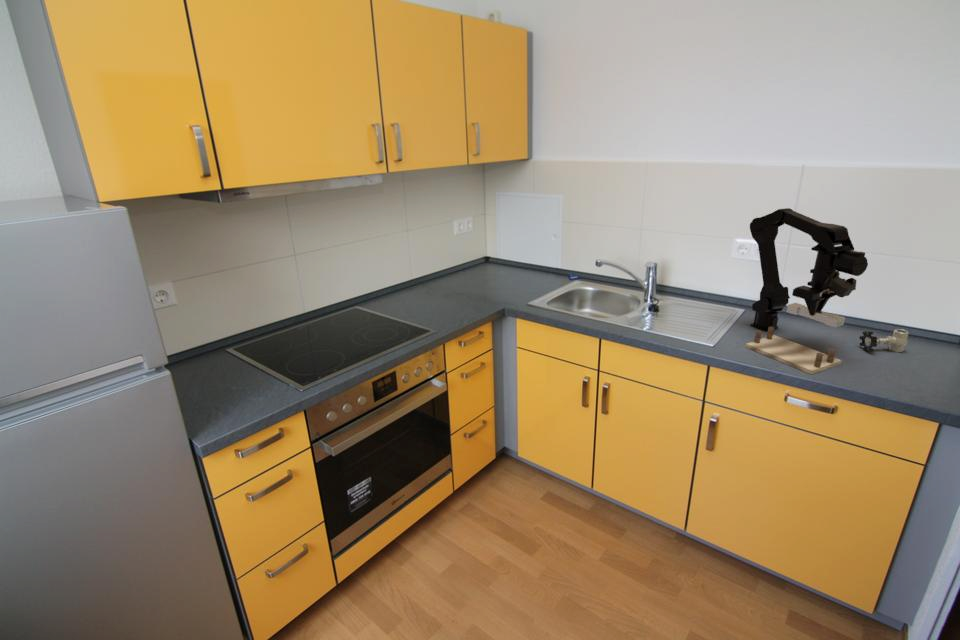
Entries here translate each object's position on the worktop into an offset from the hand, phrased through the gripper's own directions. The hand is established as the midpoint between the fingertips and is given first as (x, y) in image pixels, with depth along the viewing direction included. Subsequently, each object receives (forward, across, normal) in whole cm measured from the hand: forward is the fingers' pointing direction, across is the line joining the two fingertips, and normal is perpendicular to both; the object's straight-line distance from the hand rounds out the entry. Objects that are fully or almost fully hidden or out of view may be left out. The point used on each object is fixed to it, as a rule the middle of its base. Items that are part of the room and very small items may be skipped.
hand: (814, 314), depth 159 cm
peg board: (+11, -11, -2) cm, 15 cm away
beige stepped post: (+1, 0, 0) cm, 1 cm away
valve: (+11, +17, -14) cm, 25 cm away
